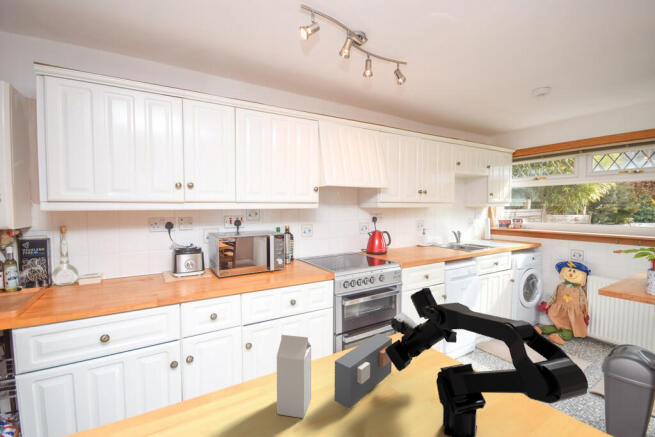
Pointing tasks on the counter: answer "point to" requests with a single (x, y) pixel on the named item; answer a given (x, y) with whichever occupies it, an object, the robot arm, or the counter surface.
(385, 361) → the terracotta button
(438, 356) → the counter surface
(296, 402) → the milk carton
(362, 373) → the cream button
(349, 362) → the console
